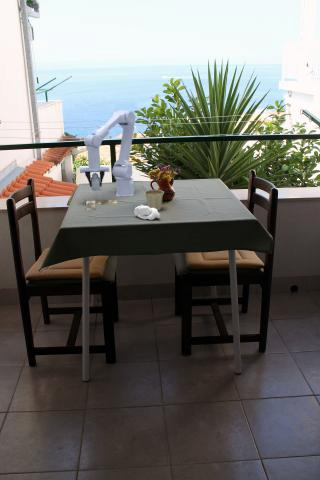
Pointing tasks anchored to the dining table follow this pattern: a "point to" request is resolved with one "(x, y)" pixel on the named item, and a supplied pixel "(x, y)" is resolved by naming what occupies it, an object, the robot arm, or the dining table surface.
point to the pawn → (95, 182)
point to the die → (90, 205)
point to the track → (102, 202)
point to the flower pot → (154, 198)
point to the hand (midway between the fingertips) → (95, 186)
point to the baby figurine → (146, 212)
